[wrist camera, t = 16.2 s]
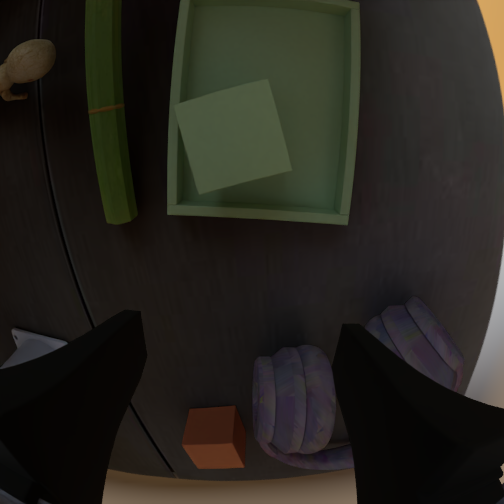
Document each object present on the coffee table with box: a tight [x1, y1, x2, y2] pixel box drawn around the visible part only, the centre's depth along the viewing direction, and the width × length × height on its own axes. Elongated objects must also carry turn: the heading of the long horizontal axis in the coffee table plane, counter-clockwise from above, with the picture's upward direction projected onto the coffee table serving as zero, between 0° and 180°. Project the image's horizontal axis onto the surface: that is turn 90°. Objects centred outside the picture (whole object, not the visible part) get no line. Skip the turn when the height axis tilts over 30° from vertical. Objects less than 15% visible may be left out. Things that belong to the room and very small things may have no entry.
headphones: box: [252, 296, 464, 470], centre depth 22 cm, size 18×8×20 cm
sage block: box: [174, 79, 293, 195], centre depth 15 cm, size 4×4×4 cm
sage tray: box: [167, 0, 361, 225], centre depth 16 cm, size 14×11×2 cm
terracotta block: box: [182, 405, 246, 469], centre depth 24 cm, size 4×4×4 cm
